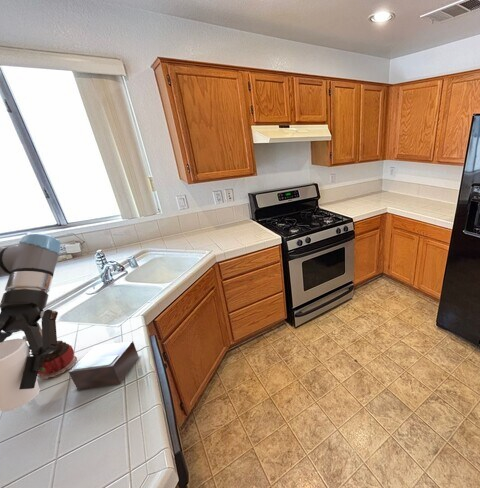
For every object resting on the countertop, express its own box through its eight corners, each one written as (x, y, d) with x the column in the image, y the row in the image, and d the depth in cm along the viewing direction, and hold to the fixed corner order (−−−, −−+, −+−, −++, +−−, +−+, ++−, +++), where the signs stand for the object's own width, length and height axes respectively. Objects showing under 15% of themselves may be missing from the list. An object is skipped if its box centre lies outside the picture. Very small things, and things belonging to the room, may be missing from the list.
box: (77, 390, 78) (68, 371, 76) (101, 362, 89) (93, 345, 86) (120, 383, 80) (112, 365, 77) (139, 357, 90) (132, 340, 88)
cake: (86, 357, 92) (66, 313, 85) (61, 379, 83) (37, 332, 77) (56, 358, 92) (35, 315, 86) (28, 380, 83) (1, 334, 77)
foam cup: (4, 391, 62) (-23, 347, 58) (55, 376, 66) (34, 333, 62) (-23, 426, 54) (-56, 378, 50) (37, 406, 58) (11, 359, 54)
